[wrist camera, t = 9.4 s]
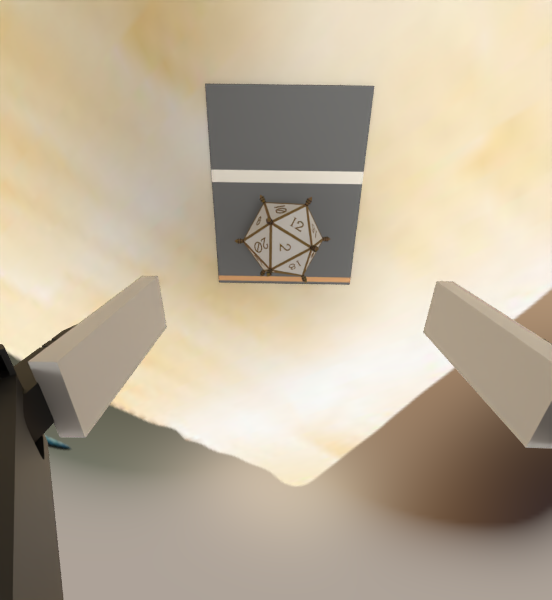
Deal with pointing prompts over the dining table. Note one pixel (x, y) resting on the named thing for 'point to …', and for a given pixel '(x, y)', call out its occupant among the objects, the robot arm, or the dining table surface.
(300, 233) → the game die
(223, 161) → the lane mat
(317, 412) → the dining table surface
